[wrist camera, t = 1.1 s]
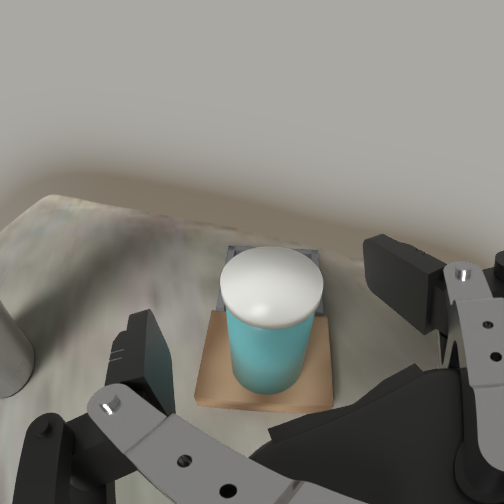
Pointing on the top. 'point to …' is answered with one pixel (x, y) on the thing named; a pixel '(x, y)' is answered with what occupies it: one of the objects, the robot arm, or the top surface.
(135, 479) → the top surface
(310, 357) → the light tan wooden board
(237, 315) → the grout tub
